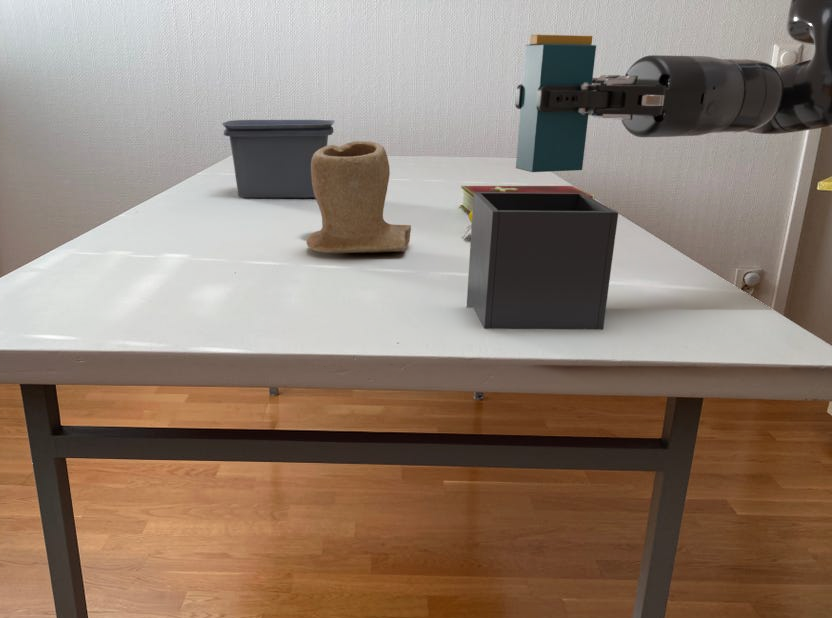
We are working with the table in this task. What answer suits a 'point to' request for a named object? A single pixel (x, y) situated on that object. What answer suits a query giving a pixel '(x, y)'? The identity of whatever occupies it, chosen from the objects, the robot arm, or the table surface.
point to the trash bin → (540, 260)
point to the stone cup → (354, 200)
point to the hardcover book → (469, 191)
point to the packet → (553, 131)
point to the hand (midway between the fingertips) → (529, 97)
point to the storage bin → (275, 155)
